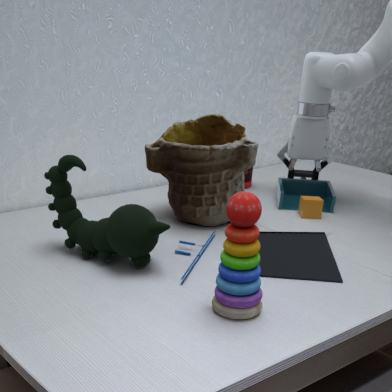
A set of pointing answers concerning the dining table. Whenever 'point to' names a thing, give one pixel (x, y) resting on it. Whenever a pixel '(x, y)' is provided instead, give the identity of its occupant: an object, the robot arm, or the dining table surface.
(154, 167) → the ceramic vessel
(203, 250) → the chopsticks
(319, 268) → the mat
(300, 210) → the block
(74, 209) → the toy figurine
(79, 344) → the dining table surface
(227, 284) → the stacking toy
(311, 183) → the dish
